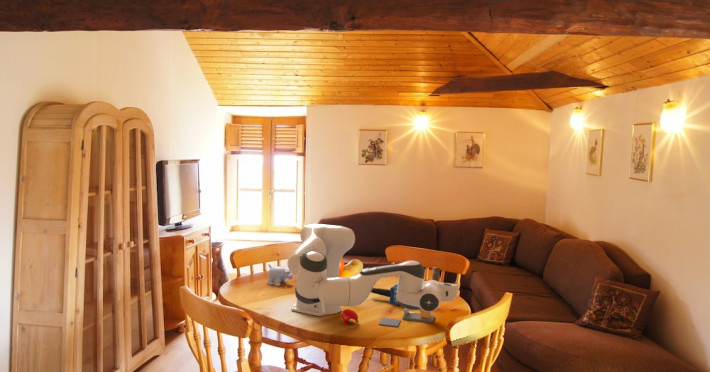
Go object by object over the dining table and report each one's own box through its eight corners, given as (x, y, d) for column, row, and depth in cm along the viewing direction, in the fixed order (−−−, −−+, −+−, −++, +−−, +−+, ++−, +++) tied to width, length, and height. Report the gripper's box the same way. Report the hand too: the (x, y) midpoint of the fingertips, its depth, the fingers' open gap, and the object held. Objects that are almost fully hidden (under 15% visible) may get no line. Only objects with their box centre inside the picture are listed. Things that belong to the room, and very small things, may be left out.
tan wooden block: (420, 317, 219) (421, 292, 218) (421, 314, 223) (422, 290, 222) (429, 318, 218) (430, 293, 217) (430, 315, 222) (431, 291, 221)
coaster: (378, 324, 211) (378, 323, 211) (382, 318, 219) (382, 317, 219) (397, 327, 209) (397, 325, 209) (400, 320, 217) (400, 319, 217)
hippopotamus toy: (286, 287, 263) (287, 269, 262) (262, 283, 268) (262, 266, 268) (297, 282, 273) (297, 265, 272) (273, 278, 278) (273, 262, 278)
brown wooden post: (430, 300, 218) (432, 268, 217) (431, 298, 220) (433, 266, 219) (437, 300, 217) (439, 268, 216) (438, 298, 220) (439, 267, 219)
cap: (339, 318, 208) (352, 312, 207) (338, 309, 214) (351, 303, 213) (349, 331, 211) (361, 325, 210) (348, 322, 217) (360, 315, 216)
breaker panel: (402, 319, 219) (402, 310, 218) (405, 313, 226) (405, 305, 226) (432, 323, 216) (432, 313, 215) (434, 317, 223) (434, 308, 223)
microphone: (374, 280, 252) (421, 288, 241) (374, 295, 253) (421, 304, 242) (367, 284, 245) (416, 292, 234) (367, 299, 246) (415, 308, 235)
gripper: (407, 296, 208) (411, 287, 222) (457, 301, 203) (458, 292, 217) (407, 281, 208) (412, 273, 221) (458, 286, 203) (459, 278, 216)
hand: (435, 283), depth 219 cm, fingers closed on brown wooden post, 3 cm apart
